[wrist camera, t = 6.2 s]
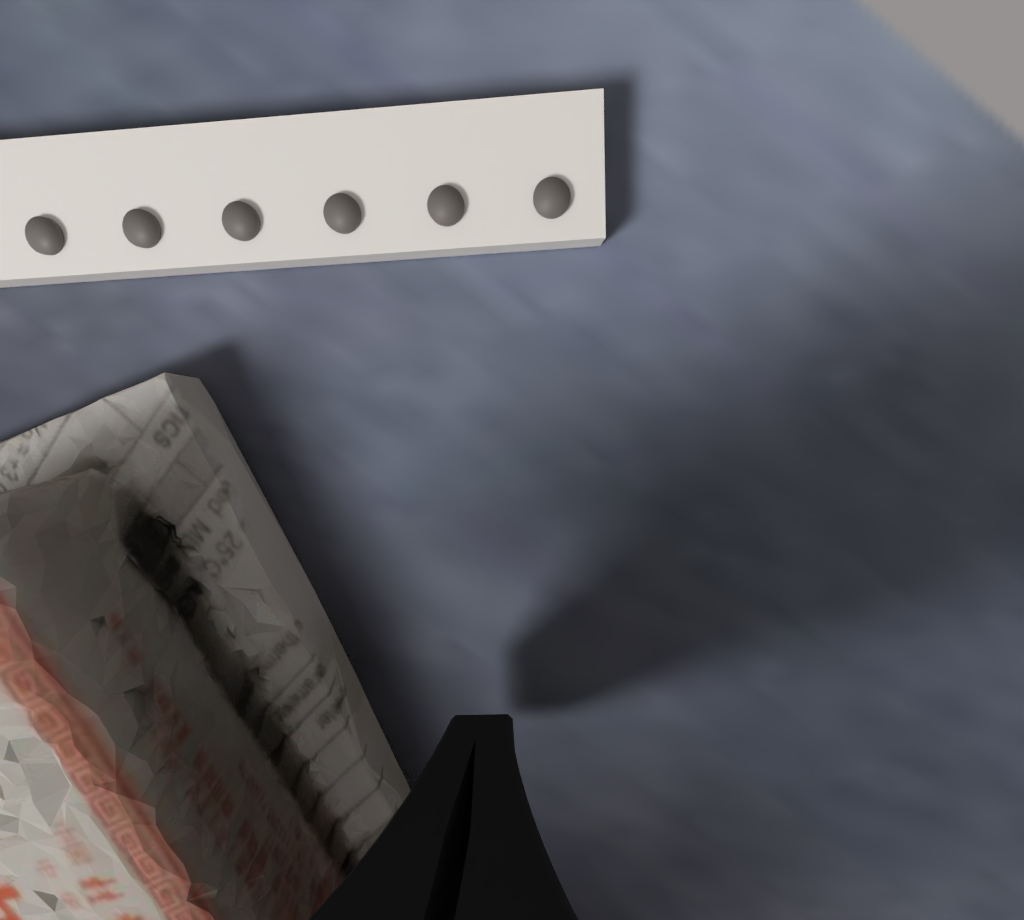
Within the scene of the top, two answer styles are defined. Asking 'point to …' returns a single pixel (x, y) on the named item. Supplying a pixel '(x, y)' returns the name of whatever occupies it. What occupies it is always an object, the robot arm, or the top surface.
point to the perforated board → (305, 190)
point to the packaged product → (169, 681)
